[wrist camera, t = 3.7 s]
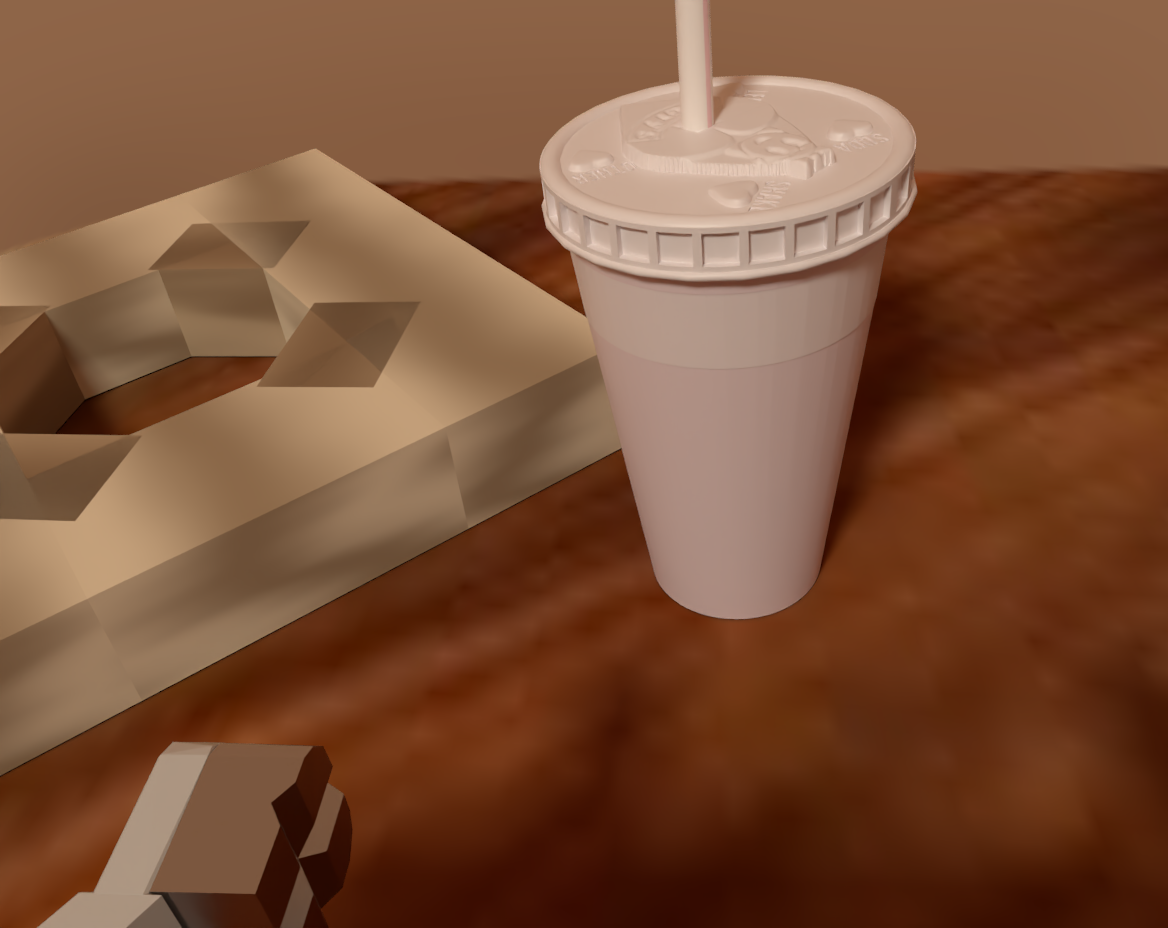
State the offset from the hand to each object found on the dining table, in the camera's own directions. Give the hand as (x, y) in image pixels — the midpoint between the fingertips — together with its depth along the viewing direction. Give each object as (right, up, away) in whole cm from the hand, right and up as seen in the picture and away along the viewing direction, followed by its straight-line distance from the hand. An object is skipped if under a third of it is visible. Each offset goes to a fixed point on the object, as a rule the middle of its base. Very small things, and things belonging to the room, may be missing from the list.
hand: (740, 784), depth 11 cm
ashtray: (-13, +4, +20) cm, 24 cm away
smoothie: (+2, +1, +14) cm, 14 cm away
